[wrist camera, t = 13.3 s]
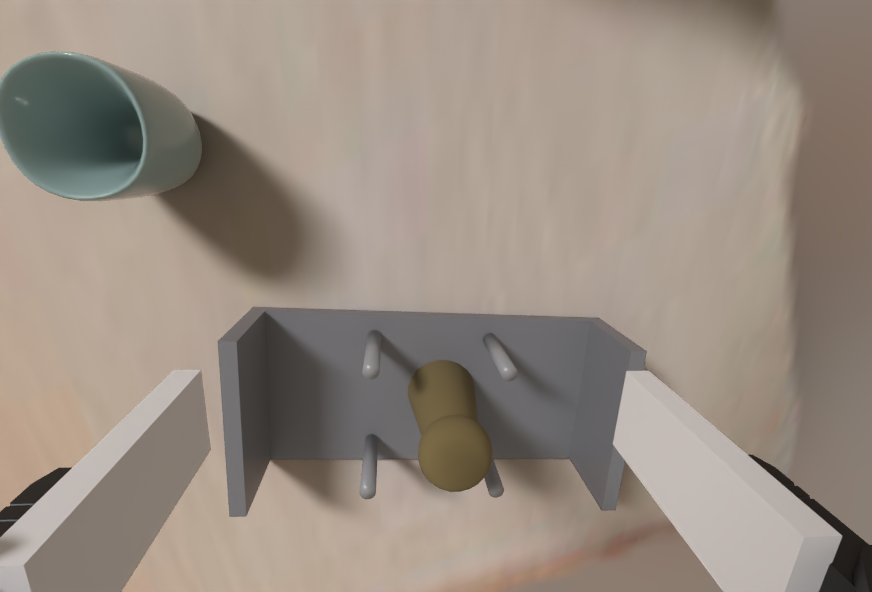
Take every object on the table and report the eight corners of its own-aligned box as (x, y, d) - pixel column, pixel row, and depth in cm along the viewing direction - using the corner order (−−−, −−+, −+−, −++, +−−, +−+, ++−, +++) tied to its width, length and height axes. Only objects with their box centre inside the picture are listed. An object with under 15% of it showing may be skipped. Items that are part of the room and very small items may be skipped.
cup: (226, 190, 35) (164, 196, 26) (122, 198, 35) (19, 207, 25) (205, 81, 33) (129, 44, 23) (94, 88, 32) (-31, 52, 23)
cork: (423, 430, 41) (434, 520, 31) (396, 376, 40) (398, 450, 29) (484, 405, 41) (516, 485, 31) (459, 349, 39) (484, 413, 29)
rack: (259, 452, 41) (229, 516, 34) (253, 307, 38) (217, 341, 30) (576, 452, 45) (615, 510, 37) (598, 317, 41) (646, 351, 33)
